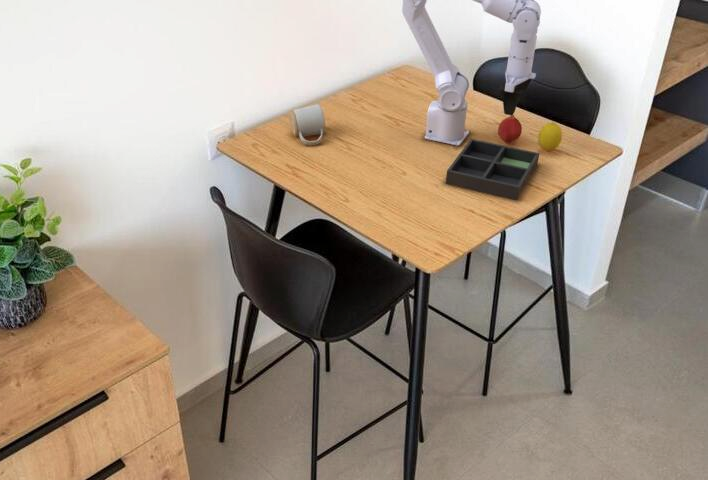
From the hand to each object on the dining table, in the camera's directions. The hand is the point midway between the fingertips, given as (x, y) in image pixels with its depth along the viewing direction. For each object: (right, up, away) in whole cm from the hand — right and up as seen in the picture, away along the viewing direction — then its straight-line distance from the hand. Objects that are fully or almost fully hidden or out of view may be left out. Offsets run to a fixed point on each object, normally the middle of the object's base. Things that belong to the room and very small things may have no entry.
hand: (513, 107), depth 189 cm
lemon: (+9, -11, +2) cm, 14 cm away
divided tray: (-7, -17, -5) cm, 19 cm away
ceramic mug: (-50, -5, +13) cm, 52 cm away
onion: (0, -8, +6) cm, 10 cm away
